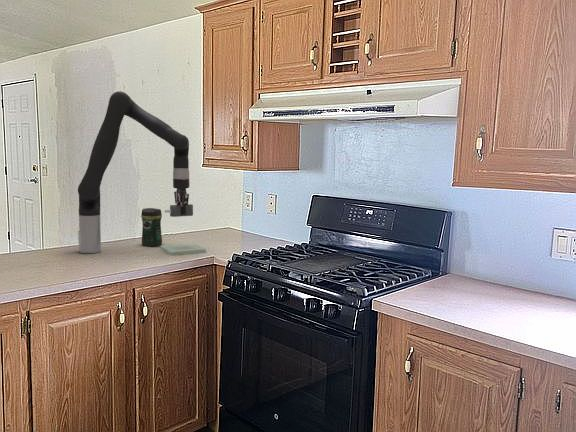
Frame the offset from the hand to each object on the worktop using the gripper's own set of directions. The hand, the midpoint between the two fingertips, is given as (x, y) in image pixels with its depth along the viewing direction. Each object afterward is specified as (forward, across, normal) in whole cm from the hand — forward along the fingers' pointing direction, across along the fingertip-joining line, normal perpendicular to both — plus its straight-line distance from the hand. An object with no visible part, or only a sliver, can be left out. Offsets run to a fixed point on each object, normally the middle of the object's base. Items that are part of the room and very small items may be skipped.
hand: (181, 213), depth 247 cm
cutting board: (+18, 0, 0) cm, 18 cm away
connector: (+1, 0, -1) cm, 1 cm away
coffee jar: (+18, -19, -9) cm, 28 cm away
